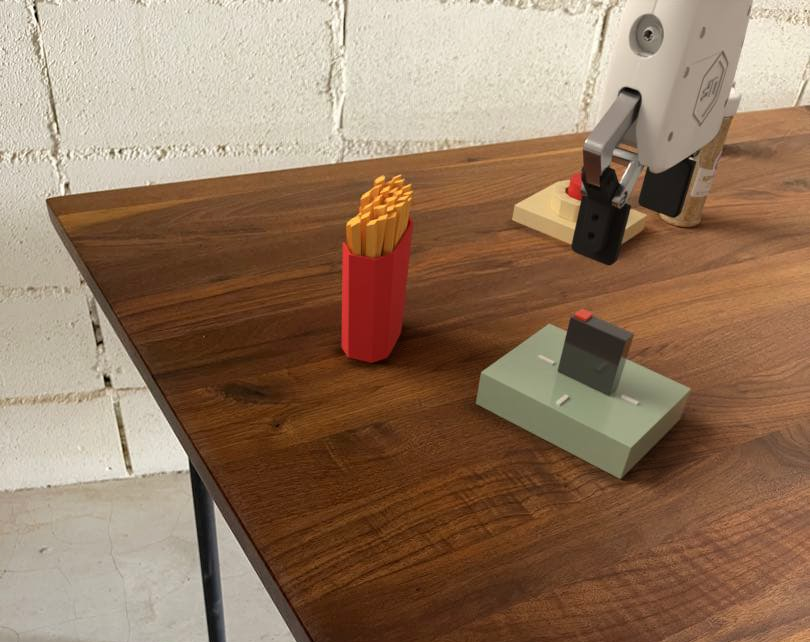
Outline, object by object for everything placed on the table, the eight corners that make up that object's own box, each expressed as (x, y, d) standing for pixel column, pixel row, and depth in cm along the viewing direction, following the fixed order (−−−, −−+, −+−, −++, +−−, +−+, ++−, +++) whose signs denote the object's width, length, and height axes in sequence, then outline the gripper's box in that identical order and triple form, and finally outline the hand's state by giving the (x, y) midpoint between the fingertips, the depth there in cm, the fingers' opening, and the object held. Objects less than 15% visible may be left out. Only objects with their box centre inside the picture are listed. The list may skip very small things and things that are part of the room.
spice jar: (701, 231, 95) (745, 99, 86) (658, 225, 95) (698, 93, 86) (697, 213, 98) (740, 84, 89) (656, 207, 99) (694, 78, 89)
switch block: (643, 230, 94) (652, 198, 92) (602, 257, 89) (610, 224, 87) (555, 195, 99) (562, 164, 96) (511, 220, 93) (517, 187, 91)
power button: (608, 197, 92) (612, 180, 91) (591, 207, 90) (595, 190, 89) (578, 186, 93) (582, 169, 92) (560, 195, 91) (564, 179, 90)
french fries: (363, 309, 78) (371, 161, 69) (409, 319, 78) (424, 171, 68) (329, 364, 72) (333, 208, 63) (380, 375, 71) (391, 220, 62)
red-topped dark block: (617, 388, 67) (635, 330, 64) (609, 396, 66) (626, 338, 63) (565, 363, 69) (580, 306, 66) (556, 371, 68) (570, 313, 65)
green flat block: (679, 419, 70) (692, 386, 68) (620, 479, 64) (631, 445, 62) (542, 354, 75) (549, 321, 73) (475, 403, 70) (481, 370, 67)
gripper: (701, -18, 43) (616, 299, 55) (820, -65, 53) (726, 211, 65) (567, -51, 46) (514, 257, 58) (704, -90, 56) (635, 179, 68)
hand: (627, 232), depth 61 cm, fingers open, 9 cm apart
